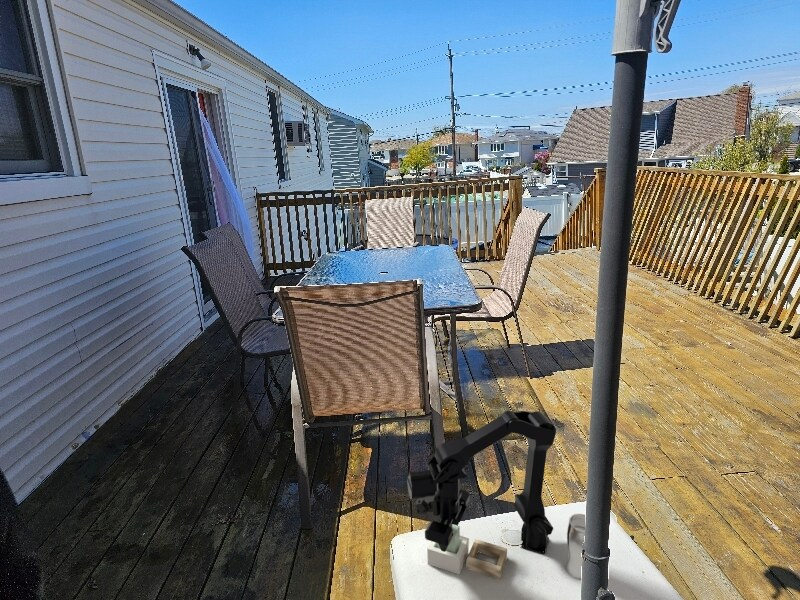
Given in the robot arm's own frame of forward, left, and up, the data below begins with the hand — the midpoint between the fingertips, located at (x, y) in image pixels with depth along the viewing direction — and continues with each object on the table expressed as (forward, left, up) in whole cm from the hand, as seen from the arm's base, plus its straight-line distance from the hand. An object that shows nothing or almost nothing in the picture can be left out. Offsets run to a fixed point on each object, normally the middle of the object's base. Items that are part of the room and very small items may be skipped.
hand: (448, 540), depth 135 cm
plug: (0, 0, -4) cm, 4 cm away
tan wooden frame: (-10, -2, -6) cm, 12 cm away
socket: (0, 0, -6) cm, 6 cm away
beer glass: (-32, -9, -6) cm, 34 cm away
